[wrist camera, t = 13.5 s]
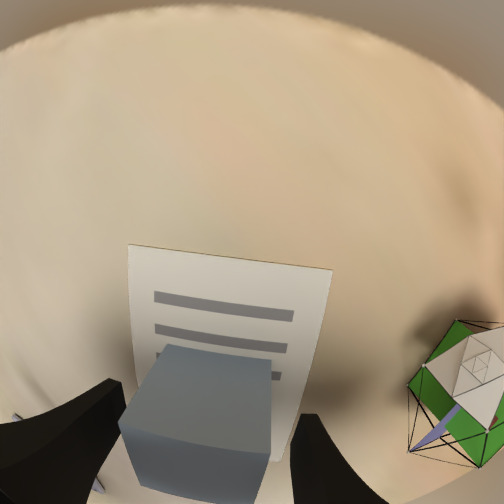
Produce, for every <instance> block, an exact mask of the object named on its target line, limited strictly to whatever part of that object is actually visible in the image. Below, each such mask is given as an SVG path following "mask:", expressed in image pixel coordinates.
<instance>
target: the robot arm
mask: <svg viewBox="0 0 504 504" xmlns="http://www.w3.org/2000/svg"><path fill="white" fill-rule="evenodd" d="M126 408H127V407H126V403H125V398H124V393H123V388H122V383H121V382H119V381H116V380H113V379H110V378H108V379H107V380H105V381H103V382H101V383H100V384H98V385H96V386H95V387H93V388H92V389H90V390H88V391H87V392H85V393H83V394H81V395H80V396H78V397H76V398H74V399H73V400H71V401H69V402H67V403H65V404H63V405H61V406H59V407H57V408H55V409H53V410H50V411H48V412H46V413H43V414H40V415H37V416H34V417H31V418H28V419H24V420H22V419H20V418H19V417H17V416H16V415H14V414H13V415H12V419H13V420H14V422H11V423H4V424H0V504H86V503H87V500H88V497H89V494H90V491H91V489H92V490H95V491H97V492H99V493H101V494H104V493H105V491H104V489H103V488H102V486H101V485H100V483H99V482H98V480H97V478H96V476H97V474H98V472H99V470H100V468H101V466H102V464H103V463H104V461H105V459H106V458H107V456H108V454H109V453H110V451H111V449H112V448H113V446H114V444H115V443H116V441H117V439H118V437H119V436H120V434H121V431H120V428H119V424H118V421H119V419H120V418H121V416H122V414H123V413H124V411H125V409H126ZM290 469H291V479H292V488H293V497H294V504H389V503H388V502H386V501H385V500H384V499H382V498H381V497H380V496H379V495H377V494H376V493H375V492H374V491H373V490H372V489H371V488H370V487H369V486H368V485H367V484H366V483H365V482H364V481H363V480H362V479H361V478H360V477H359V476H358V475H357V474H356V472H355V471H354V470H353V469H352V467H351V466H350V465H349V464H348V462H347V461H346V460H345V458H344V457H343V456H342V454H341V453H340V451H339V450H338V448H337V447H336V445H335V444H334V442H333V441H332V439H331V438H330V436H329V434H328V433H327V431H326V429H325V427H324V426H323V424H322V422H321V420H320V418H319V416H318V415H317V414H301V415H300V418H299V421H298V424H297V427H296V430H295V433H294V435H293V438H292V441H291V444H290Z"/></svg>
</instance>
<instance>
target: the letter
mask: <svg viewBox="0 0 504 504" xmlns="http://www.w3.org/2000/svg"><path fill="white" fill-rule="evenodd" d="M332 274H333V270H329V269H320V268H312V267H304V266H295V265H287V264H279V263H271V262H263V261H255V260H247V259H239V258H231V257H223V256H215V255H207V254H199V253H192V252H184V251H176V250H169V249H161V248H154V247H146V246H139V245H131V244H129V245H128V286H129V308H130V323H131V335H132V346H133V355H134V363H135V371H136V378H137V385H138V389H139V387H140V385H141V384H142V382H143V381H144V379H145V377H146V376H147V374H148V373H149V371H150V370H151V368H152V366H153V365H154V363H155V362H156V360H157V359H158V357H159V355H160V354H161V352H162V351H163V349H164V348H165V346H166V345H167V344H172V345H177V346H182V347H187V348H193V349H198V350H204V351H210V352H216V353H222V354H229V355H236V356H243V357H251V358H259V359H268V360H271V455H270V458H269V461H273V462H280V461H281V458H282V455H283V453H284V450H285V447H286V444H287V442H288V439H289V436H290V433H291V430H292V427H293V424H294V421H295V418H296V415H297V412H298V409H299V406H300V402H301V399H302V396H303V393H304V389H305V386H306V382H307V379H308V375H309V372H310V368H311V365H312V361H313V357H314V353H315V349H316V346H317V342H318V338H319V334H320V329H321V325H322V321H323V317H324V312H325V308H326V303H327V298H328V294H329V289H330V284H331V279H332Z"/></svg>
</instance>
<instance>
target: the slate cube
mask: <svg viewBox="0 0 504 504" xmlns="http://www.w3.org/2000/svg"><path fill="white" fill-rule="evenodd" d="M118 424H119V428H120V431H121V434H122V437H123V440H124V443H125V446H126V449H127V452H128V455H129V457H130V460H131V463H132V465H133V468H134V470H135V473H136V475H137V478H138V480H139V482H140V485H141V486H144V487H147V488H150V489H154V490H157V491H161V492H164V493H168V494H172V495H176V496H180V497H184V498H189V499H194V500H199V501H204V502H210V503H216V504H254V502H255V499H256V496H257V493H258V491H259V488H260V485H261V482H262V479H263V476H264V473H265V470H266V467H267V464H268V461H269V458H270V455H271V360H268V359H259V358H251V357H243V356H236V355H229V354H222V353H216V352H210V351H204V350H198V349H193V348H187V347H182V346H177V345H172V344H167V345H166V346H165V348H164V349H163V351H162V352H161V354H160V355H159V357H158V359H157V360H156V362H155V363H154V365H153V366H152V368H151V370H150V371H149V373H148V374H147V376H146V377H145V379H144V381H143V382H142V384H141V385H140V387H139V389H138V390H137V392H136V393H135V395H134V397H133V398H132V400H131V401H130V403H129V405H128V406H127V408H126V409H125V411H124V413H123V414H122V416H121V418H120V419H119V421H118Z"/></svg>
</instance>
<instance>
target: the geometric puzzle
mask: <svg viewBox="0 0 504 504" xmlns="http://www.w3.org/2000/svg"><path fill="white" fill-rule="evenodd" d="M458 321H460V320H457V318H456V319H455V322H454V323H453V325H452V326H451V328H450V329H449V331H448V332H447V334H446V335H445V336H444V338H443V339H442V341H441V342H440V343H439V345H438V346H437V348H436V349H435V350H434V352H433V353H432V354H431V356H430V357H429V358H428V359H427V361H426V362H425V363H423V364H422V367H421V369H420V370H419V371H418V372H417V374H416V375H415V376H414V378H413V379H412V380H411V381H410V383H409V384H406V386H408V387H409V389H410V391H411V392H412V394H413V395H414V397H415V399H416V400H417V402H418V406H419V405H420V407H421V409H422V410H423V412H424V414H425V415H426V417H427V419H428V420H429V422H430V424H431V425H432V427H433V429H432V430H431V431H430V432H429V433H428V434H427V435H426V436H425V437H424V438H423V439H422V440H421V441H420V442H419V443H418V444H417V445H415V446H414V447H413V448H412V449H411V450H409V448H410V445H409V436H408V451H407V453H411V452H415V451H420V450H425V449H430V448H435V447H439V446H443V445H449V446H450V447H451V448H453V449H454V450H455V451H457V452H458V453H459V454H460V455H462V456H463V457H464V458H466V459H467V460H468V461H470V462H471V463H472V464H474V465H475V466H476V467H478V470H480V469H481V467H482V466H483V465H484V464H485V463H486V462H487V461H488V460H489V459H491V458H492V457H493V456H494V455H495V454H496V453H497V452H498V451H499V450H500V449H501V447H502V446H503V445H504V326H502V327H498V328H495V329H488V328H485V327H481V326H478V325H474V324H470V323H467V322H463V321H468V320H461V321H460V322H463V323H467V324H470V325H474V326H477V327H481V328H485V329H488V330H487V331H483V332H479V333H473V332H471V331H470V330H469V329H467V328H466V327H465V326H464V325H462V324H461V323H460V322H458ZM474 322H482V321H474ZM488 323H497V322H488ZM414 393H415V394H416V395H417V396H418V397H419V400H421V401H422V402H423V403H424V404H425V405H426V406H427V407H428V409H429V410H430V411H431V412H432V413H433V414H434V415H435V417H436V418H437V419H438V420H439V421H440V422H439V423H438V424H437V425H436V426H435V427H434V426H433V424H432V422H431V420H430V419H429V417H428V415H427V414H426V412H425V410H424V409H423V407H422V405H421V404H420V402H419V400H418V399H417V397H416V396H415V394H414ZM418 406H417V411H418ZM408 410H409V395H408ZM416 417H417V412H416ZM415 422H416V418H415ZM414 427H415V423H414ZM446 430H448V431H449V434H446V435H443V436H441V435H442V434H443V433H444V432H445V431H446ZM413 431H414V428H413ZM450 434H451V435H452V436H453V437H454V438H455V440H456V441H454V442H450V443H447V442H446V441H445V440H443V439H442V438H441V437H444V436H447V435H450ZM412 436H413V432H412ZM439 438H440V439H441V440H442V441H443V442H445V443H446V444H442V445H438V446H433V447H429V448H424V449H419V450H416V449H418V448H420V447H422V446H424V445H426V444H429V443H431V442H433V441H435V440H437V439H439ZM411 440H412V437H411ZM455 442H458V443H459V444H460V445H461V447H462V448H463V449H464V450H465V451H466V453H467V454H468V455H469V456H470V457H471V458H472V460H473V461H474V462H475V463H476V464H475V463H474V462H472V461H471V460H470V459H468V458H467V457H466V456H464V455H463V454H462V453H460V452H459V451H458V450H456V449H455V448H454V447H452V446H451V445H450V444H451V443H455ZM410 444H411V441H410ZM413 450H414V451H413ZM413 454H414V453H413ZM416 455H418V454H416ZM420 456H421V455H420ZM423 457H425V456H423ZM427 458H429V457H427ZM431 459H433V458H431ZM435 460H437V459H435ZM439 461H441V460H439ZM443 462H445V461H443ZM448 463H450V462H448ZM453 464H455V463H453ZM457 465H460V464H457ZM462 466H465V465H462ZM468 467H470V466H468ZM476 467H474V468H476Z"/></svg>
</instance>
